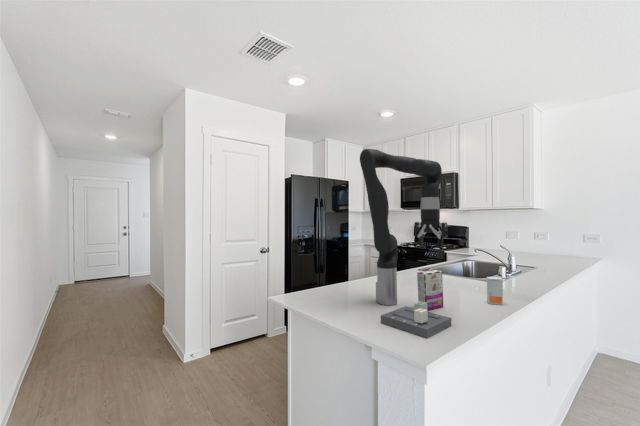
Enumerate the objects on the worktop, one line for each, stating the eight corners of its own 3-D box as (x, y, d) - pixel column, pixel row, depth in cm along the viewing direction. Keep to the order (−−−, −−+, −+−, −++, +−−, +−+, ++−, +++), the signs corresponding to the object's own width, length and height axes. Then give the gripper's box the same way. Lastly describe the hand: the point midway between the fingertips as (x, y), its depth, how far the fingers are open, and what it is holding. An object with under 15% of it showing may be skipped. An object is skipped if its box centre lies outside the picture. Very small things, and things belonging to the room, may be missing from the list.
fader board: (380, 322, 119) (380, 315, 119) (406, 313, 130) (406, 306, 130) (427, 338, 103) (426, 329, 103) (451, 325, 114) (451, 317, 114)
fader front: (414, 321, 110) (414, 310, 110) (420, 318, 112) (420, 307, 112) (421, 323, 108) (421, 312, 108) (427, 320, 110) (427, 309, 110)
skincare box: (488, 304, 140) (487, 278, 140) (487, 301, 144) (486, 276, 144) (503, 305, 137) (502, 279, 138) (501, 302, 141) (501, 277, 141)
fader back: (414, 313, 119) (414, 302, 119) (420, 311, 121) (420, 300, 121) (421, 315, 116) (421, 304, 116) (427, 312, 119) (427, 302, 119)
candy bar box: (435, 304, 141) (434, 269, 141) (443, 307, 137) (442, 271, 137) (417, 308, 136) (416, 271, 136) (426, 311, 132) (425, 273, 132)
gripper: (451, 208, 122) (451, 247, 122) (420, 208, 134) (420, 245, 134) (441, 208, 118) (441, 249, 118) (410, 208, 129) (410, 246, 129)
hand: (430, 247), depth 126 cm, fingers open, 8 cm apart
